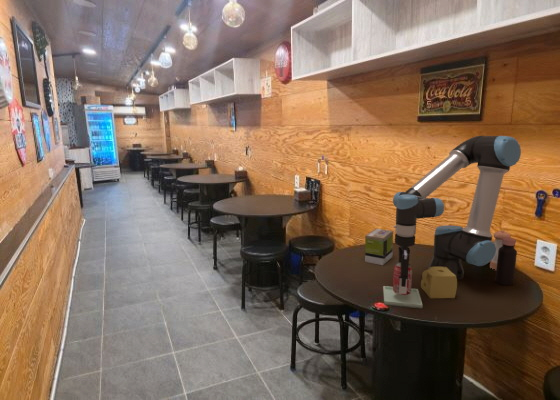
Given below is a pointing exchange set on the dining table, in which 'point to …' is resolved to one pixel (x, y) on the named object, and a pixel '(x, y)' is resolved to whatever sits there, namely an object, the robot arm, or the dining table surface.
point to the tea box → (379, 246)
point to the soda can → (397, 280)
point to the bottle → (506, 262)
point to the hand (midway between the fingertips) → (401, 288)
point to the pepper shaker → (498, 246)
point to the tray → (402, 298)
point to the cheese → (439, 282)
